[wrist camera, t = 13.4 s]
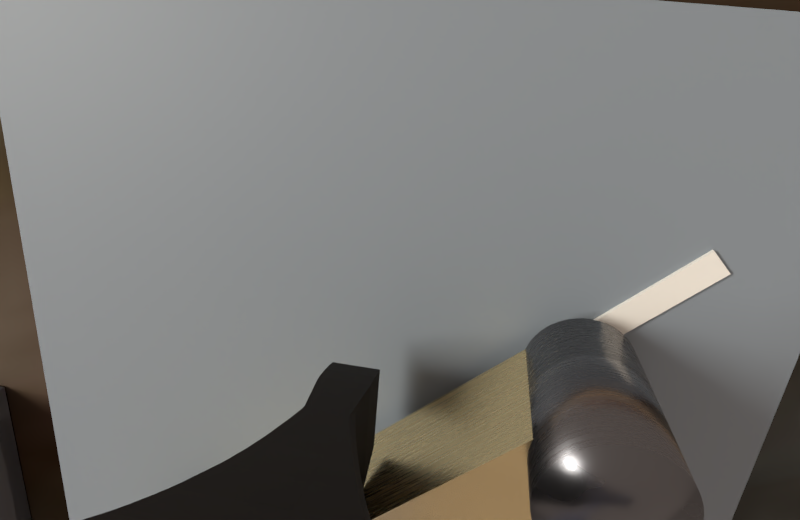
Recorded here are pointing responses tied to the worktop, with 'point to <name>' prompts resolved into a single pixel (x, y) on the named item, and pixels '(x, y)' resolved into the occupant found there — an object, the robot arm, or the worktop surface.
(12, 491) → the tray
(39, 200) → the board
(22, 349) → the worktop surface
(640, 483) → the crank
